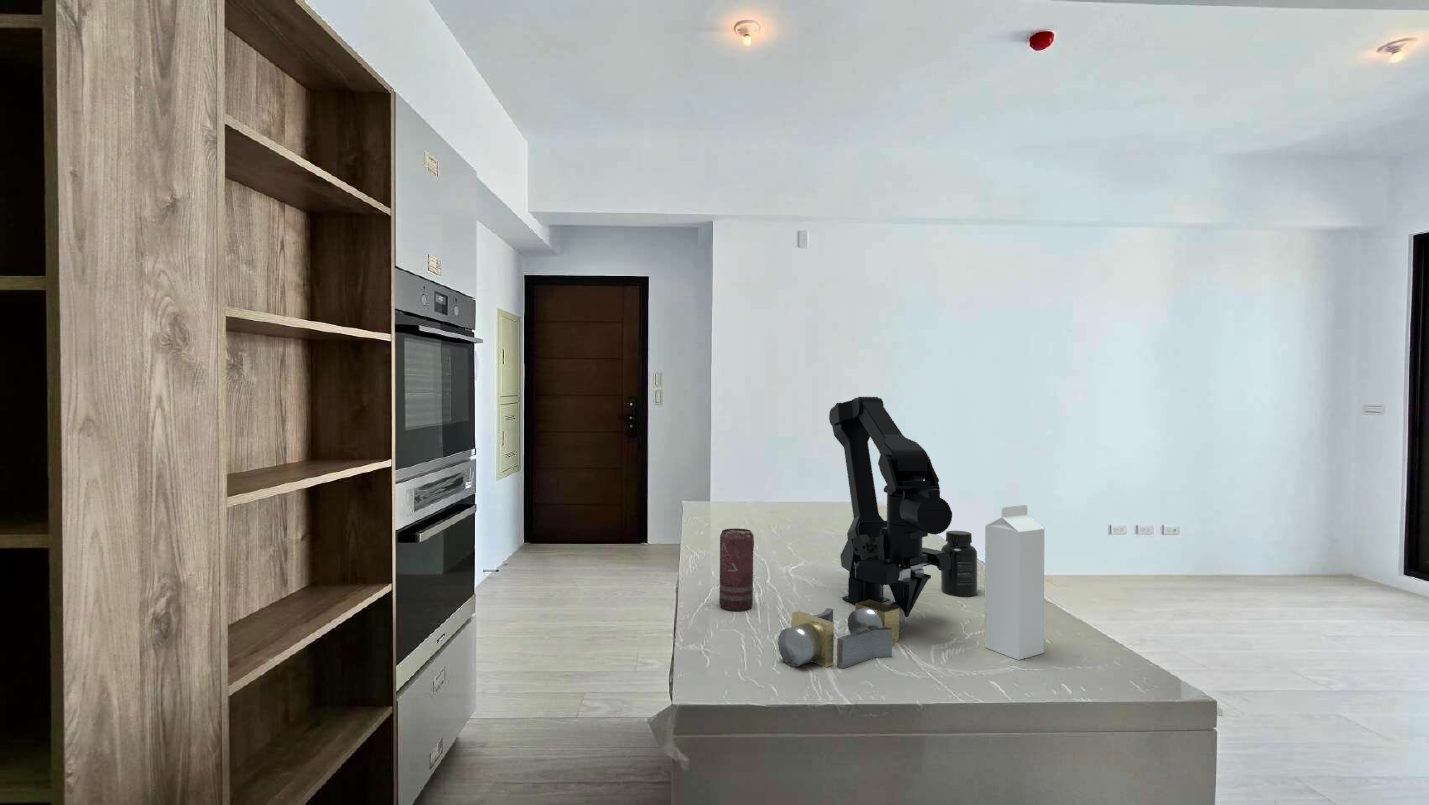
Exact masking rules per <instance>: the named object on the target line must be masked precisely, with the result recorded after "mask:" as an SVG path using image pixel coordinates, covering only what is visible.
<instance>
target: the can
mask: <svg viewBox="0 0 1429 805" xmlns="http://www.w3.org/2000/svg"><path fill="white" fill-rule="evenodd" d="M753 533H754V532H752V530H750V529H747V528H737V527H736V528H724V529H722V531H721V533H720V535H719V599H718V600H719V605H720V607H721V608H722V609H723V610H726V611H731V612H742V611H748V610H750V609H751V608H752V606H753V603H754V602H753V601H754V590H753V589H754V550H755V549H754V548H755V538H754V537H755V535H754V534H753Z"/></svg>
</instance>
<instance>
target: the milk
mask: <svg viewBox="0 0 1429 805" xmlns="http://www.w3.org/2000/svg"><path fill="white" fill-rule="evenodd" d="M984 532H985V533H984V534H985V536H984V538H985V539H984V540H985V544H984V546H985V548H984V549H985V550H984V551H985V553H984V556H985V557H984V565H985V566H984V648H986V649H988V650H989V651H990V650H991V651H993V652H996V653H999V654H1001V655H1003V656H1006V657H1009V658H1011V659H1014V660H1016V661H1017V660H1018V661H1020V660H1024V658H1025V659H1028V658H1031V657H1035V656H1038V655H1042V654H1044V653H1045V528H1044V527H1043V526H1042V525H1041V524H1040V523H1038V522H1037V521H1036V520H1034V519H1033V518H1032V517H1031V516H1030V515H1029V514H1028V505H1026V504H1024V505H1023V504H1022V505H1021V504H1019V505H1011V506H1003V507H1002V508H1001V517H1000V518H997V519H995V520H993V521H991V522H990V523H988V524H986V525H985V529H984Z"/></svg>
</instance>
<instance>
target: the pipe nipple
mask: <svg viewBox="0 0 1429 805" xmlns="http://www.w3.org/2000/svg"><path fill="white" fill-rule="evenodd" d="M854 604H855V610H852V612H851V613H850V614H849V615H848V617H847V629H848V633H849V634H853V633H856V632H859V631H862V630H866V629H870V628H885V627H890V628H891V629H892V644H894V643H896V642H900V634H901V633H903V631H904V630H905V628H906V625H907V619H906V618H907V617H905V614H904V612H903V610H902V608H901V607H900V606H899V605H898V604H897V603H895V601H894V600H893V601H891V600H890V601H887V602H883V603H879V602H876V601H873V600H867V601H863V602H859V603H854Z"/></svg>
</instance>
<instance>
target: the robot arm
mask: <svg viewBox="0 0 1429 805" xmlns="http://www.w3.org/2000/svg"><path fill="white" fill-rule="evenodd" d="M884 404H885V403H884V401H883V399H882V398H880V397H878V396H857V397H854V398H853V399H851V400H848V401H843V402H837V403H835V404H834V406H833V407H831V408H830V410H829V415H828V418H829V419H828V420H829V424H830V425H831V426H832V427H831V428H832V432H833V436H834V438H835V439H836V440H837V441H838V442H839V444H840V445H841V446H842V448H843V450H844V451H843V452H844V458H845V465H846V471H847V472H846V473H847V480H848V487H849V495H850V502H851V508H852V515H853V516H852V518H853V519H852V521H851V524H850V526H849V528H848V531H847V535H846V536H847V541H846V543H845V544H844V547H843V549H842V551H841V553H840V565H841V567H842V568H843V569H845V570H846V571H848V581H847V582H848V586H847V590H848V591H847V592H848V594H847V595H845V596H843V597H842V600H843V601H847V602H850V603H854V604H856V603H859V602H863V601H867V600H873V601H876V602H879V603H883V602H887V601H891V599H890V598H888V597H884V586H888V587H889V589H890V591H891V593H892V597H893V599H894V600H893V601H894V602H895V603H897V604H898V605H899V606H900V607H901V608H902V610H903V612H904V614H905V617H906V618H909V616H910V615H911V614H910V613H911V612H912V611H913V608H914V606H915V604H916V602H917V600H918V598H919V596H920V595H921V593H922V591H923V589H924V588H925V587H926V585H927V583H928V581H929V580H930V579H931V578H932V575H931V574H929V573H925V569H923V567H928V566H935V567H936V568H937V569H938V571H940V572H941V571H944V570H948V569H951V558H950V556H949V555H948V554H947V552H944V551H941V550H939V549H933V548H928V547H923V538H925V537H928V536H929V534H930V535H940V534H942V533H943V532H945V531H946V530H947V529H948V528H949V527H950V525H951V524H952V520H953V511H952V510H951V507H950V504H949V503H948V502H947V501H946V500H945V499H943V498H942V497H941V487H940V484H939V483H940V479H939V477H938V474H937V473H936V470H935V468H934V467H933V463H932V461H931V459H930V458H931V457H930V456H929V455H928V453H927V451H926V450H925V449H924V448H923V446H921V445H920V444H919V443H918V442H917V441H915V440H912V439H909V438H907V437H906V436H905V435H903V433H902V431H901V430H900V429H899V426H897V424H896V423H895V421H894V420H893V419H892V417H891V416H890V414H889V412H888V411H887V409H886V408H885V405H884ZM870 439H871V440H872V443H873V444H874V446H875V447H876V449H877V450H878V453H879V459H878V462H877V464H878V467H879V468H878V469H879V472H880V473H881V476H882V477H883V480H884V481H885V483H886V485H885V486H884V488H883V492H884V493H886V520H884V519H883V517H882V516H881V515H880V512H879V506H878V501H877V500H878V499H877V493H876V487H875V481H874V475H873V467H872V460H871V455H870V454H871V453H870V448H869V440H870Z"/></svg>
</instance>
